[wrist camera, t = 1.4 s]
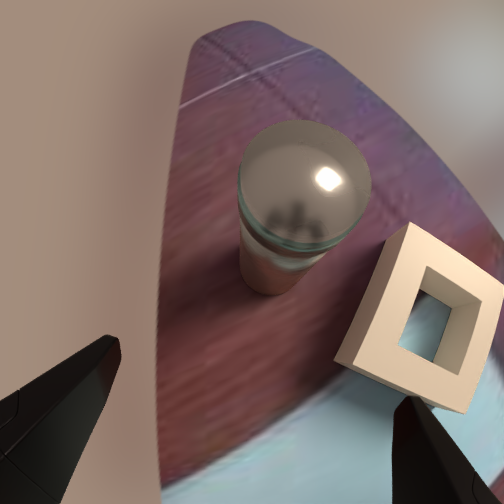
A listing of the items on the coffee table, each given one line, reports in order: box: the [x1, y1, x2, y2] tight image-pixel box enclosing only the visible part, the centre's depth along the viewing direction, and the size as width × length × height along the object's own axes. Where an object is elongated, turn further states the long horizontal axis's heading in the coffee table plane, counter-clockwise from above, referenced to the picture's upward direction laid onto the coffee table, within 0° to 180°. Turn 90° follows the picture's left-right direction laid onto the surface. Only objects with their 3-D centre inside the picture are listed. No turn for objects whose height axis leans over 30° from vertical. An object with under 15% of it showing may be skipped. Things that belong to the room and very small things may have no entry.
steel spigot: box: [238, 120, 371, 295], centre depth 17 cm, size 5×5×13 cm
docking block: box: [333, 222, 504, 414], centre depth 20 cm, size 10×10×4 cm
